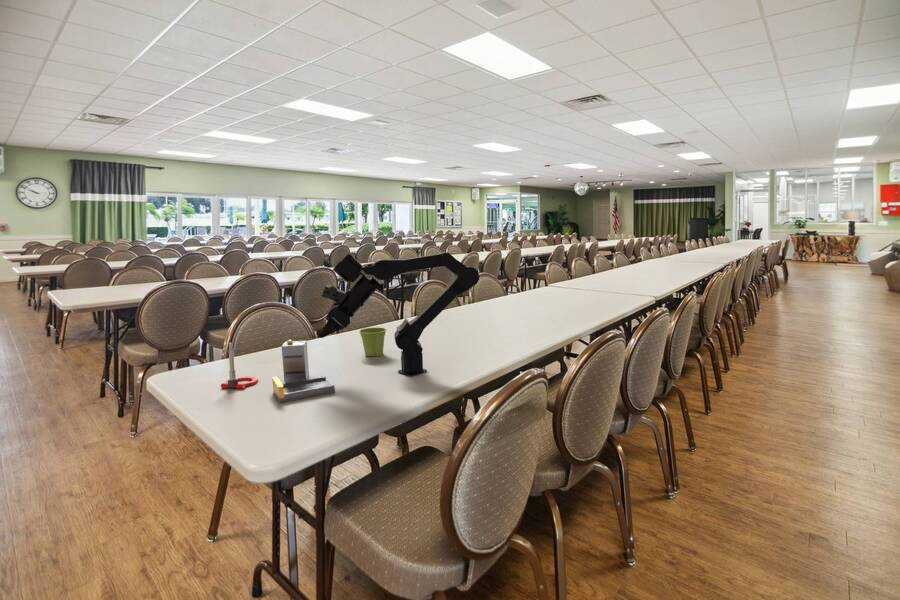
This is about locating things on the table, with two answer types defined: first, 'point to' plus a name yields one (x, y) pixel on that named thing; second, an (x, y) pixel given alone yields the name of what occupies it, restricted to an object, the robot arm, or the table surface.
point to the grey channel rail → (301, 389)
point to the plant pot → (373, 340)
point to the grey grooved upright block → (295, 361)
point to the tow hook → (233, 380)
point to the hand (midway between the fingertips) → (322, 333)
